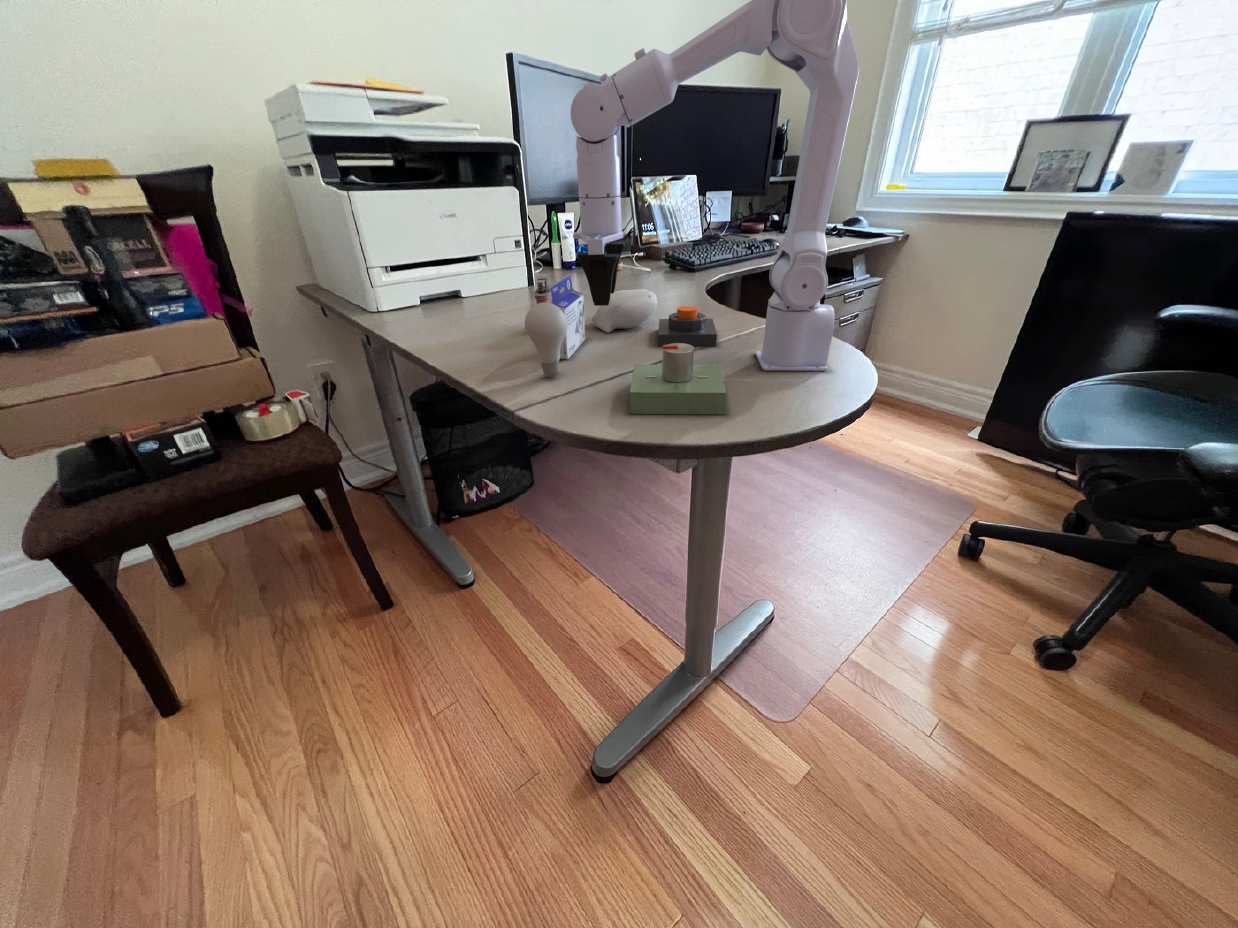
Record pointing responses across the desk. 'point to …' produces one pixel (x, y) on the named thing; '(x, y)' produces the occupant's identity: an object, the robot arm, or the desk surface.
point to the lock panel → (677, 392)
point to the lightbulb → (547, 334)
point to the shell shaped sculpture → (625, 309)
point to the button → (687, 312)
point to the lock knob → (677, 362)
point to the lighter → (543, 290)
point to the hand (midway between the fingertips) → (604, 299)
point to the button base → (687, 331)
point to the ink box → (570, 315)
